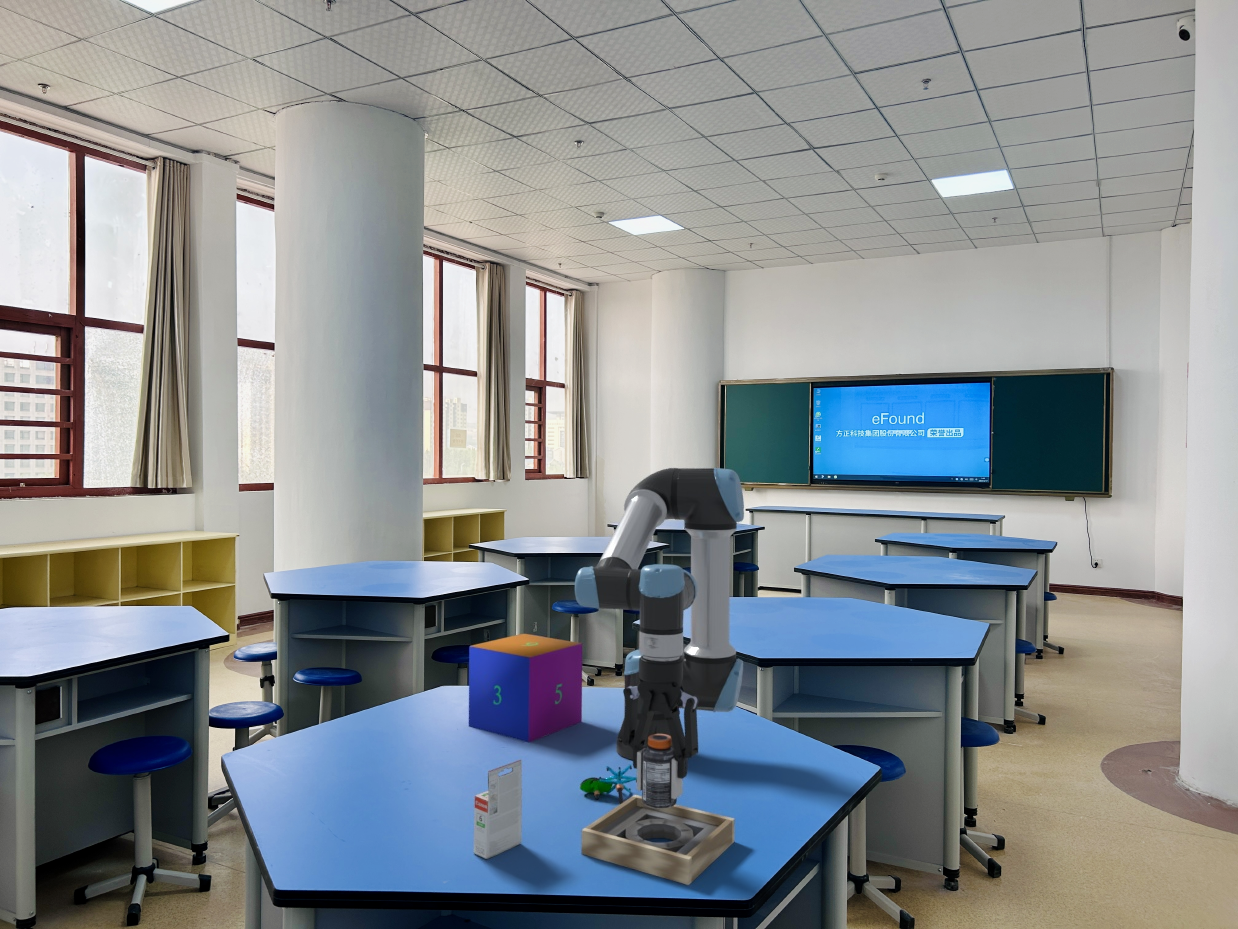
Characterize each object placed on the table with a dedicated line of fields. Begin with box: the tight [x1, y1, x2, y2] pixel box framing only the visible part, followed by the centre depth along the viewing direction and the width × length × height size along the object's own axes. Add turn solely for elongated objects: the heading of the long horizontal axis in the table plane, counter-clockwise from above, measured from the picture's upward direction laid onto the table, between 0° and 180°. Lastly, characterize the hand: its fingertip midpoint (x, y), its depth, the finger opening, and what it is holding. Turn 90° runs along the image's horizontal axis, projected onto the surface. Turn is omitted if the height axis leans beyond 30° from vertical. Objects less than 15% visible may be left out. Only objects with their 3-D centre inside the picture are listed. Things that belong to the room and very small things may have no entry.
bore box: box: [580, 794, 736, 886], centre depth 145 cm, size 20×18×4 cm
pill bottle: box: [641, 734, 678, 809], centre depth 145 cm, size 6×6×11 cm
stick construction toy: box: [579, 764, 637, 805], centre depth 166 cm, size 12×7×8 cm
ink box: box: [473, 759, 523, 860], centre depth 144 cm, size 4×8×15 cm, turn 140°
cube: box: [468, 633, 583, 743], centre depth 213 cm, size 20×20×20 cm
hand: (659, 791), depth 145 cm, fingers closed on pill bottle, 6 cm apart
